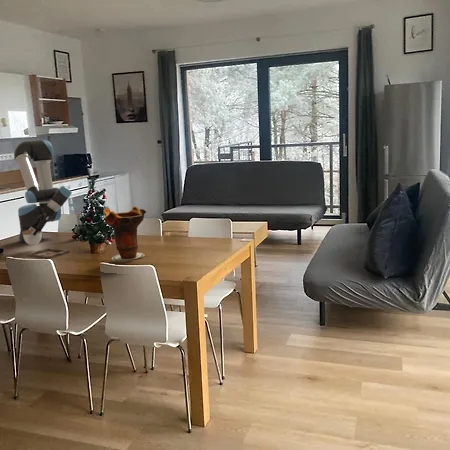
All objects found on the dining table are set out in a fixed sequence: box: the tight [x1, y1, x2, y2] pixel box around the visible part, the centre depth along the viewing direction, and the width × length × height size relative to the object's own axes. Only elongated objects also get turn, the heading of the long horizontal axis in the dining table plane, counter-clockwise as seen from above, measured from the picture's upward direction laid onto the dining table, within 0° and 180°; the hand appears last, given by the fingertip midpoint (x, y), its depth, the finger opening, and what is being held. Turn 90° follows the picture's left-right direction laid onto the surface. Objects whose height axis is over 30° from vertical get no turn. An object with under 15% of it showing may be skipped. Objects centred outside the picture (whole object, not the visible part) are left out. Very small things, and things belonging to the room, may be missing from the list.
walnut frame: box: [25, 247, 70, 260], centre depth 285 cm, size 16×18×1 cm
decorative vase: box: [103, 206, 147, 262], centre depth 266 cm, size 21×23×28 cm
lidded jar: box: [22, 228, 43, 246], centre depth 295 cm, size 11×11×9 cm
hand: (27, 237), depth 294 cm, fingers closed on lidded jar, 11 cm apart
